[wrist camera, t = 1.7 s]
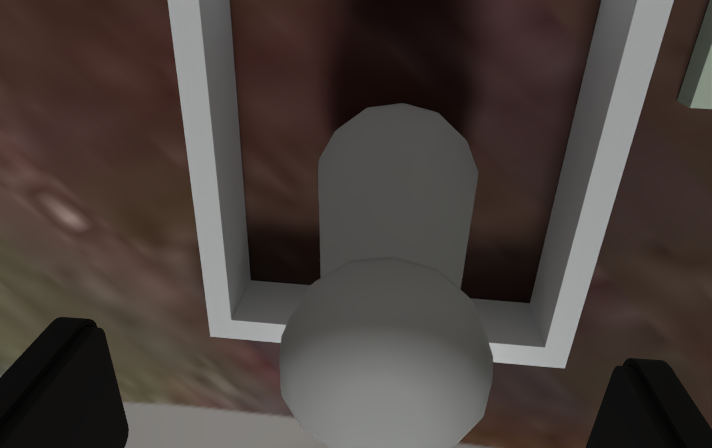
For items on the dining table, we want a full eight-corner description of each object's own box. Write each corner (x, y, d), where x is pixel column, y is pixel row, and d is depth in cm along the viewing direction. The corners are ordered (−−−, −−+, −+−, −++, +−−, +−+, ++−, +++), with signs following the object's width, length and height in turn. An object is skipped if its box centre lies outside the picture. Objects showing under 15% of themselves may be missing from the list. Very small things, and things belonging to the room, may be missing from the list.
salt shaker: (329, 82, 20) (215, 260, 8) (480, 92, 19) (580, 294, 8) (326, 218, 22) (238, 493, 11) (458, 229, 22) (510, 525, 11)
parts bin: (642, -41, 17) (685, -40, 14) (547, 322, 24) (564, 368, 21) (197, -57, 18) (160, -59, 15) (231, 295, 25) (210, 336, 22)
